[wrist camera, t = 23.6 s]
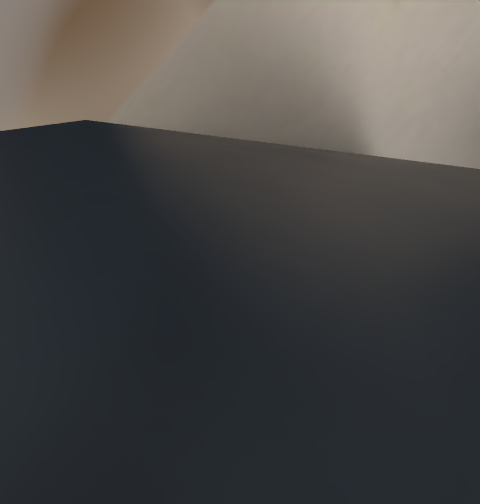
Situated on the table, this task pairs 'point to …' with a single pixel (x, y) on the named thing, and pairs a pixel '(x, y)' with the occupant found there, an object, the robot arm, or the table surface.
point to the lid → (234, 322)
